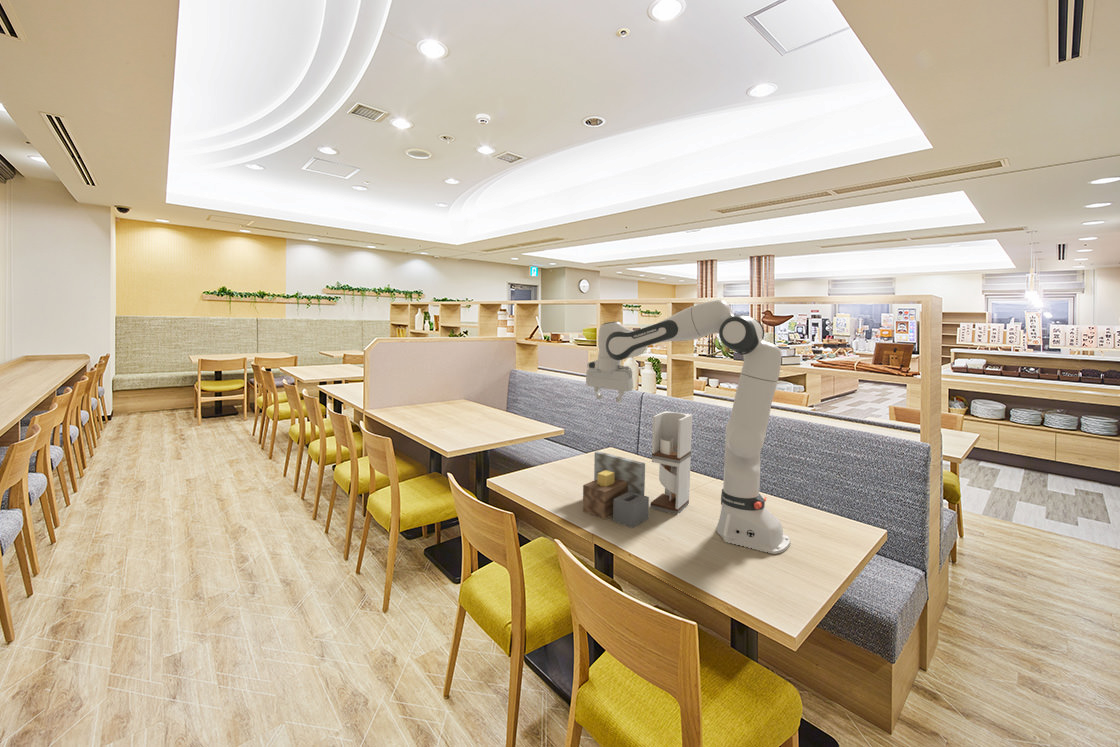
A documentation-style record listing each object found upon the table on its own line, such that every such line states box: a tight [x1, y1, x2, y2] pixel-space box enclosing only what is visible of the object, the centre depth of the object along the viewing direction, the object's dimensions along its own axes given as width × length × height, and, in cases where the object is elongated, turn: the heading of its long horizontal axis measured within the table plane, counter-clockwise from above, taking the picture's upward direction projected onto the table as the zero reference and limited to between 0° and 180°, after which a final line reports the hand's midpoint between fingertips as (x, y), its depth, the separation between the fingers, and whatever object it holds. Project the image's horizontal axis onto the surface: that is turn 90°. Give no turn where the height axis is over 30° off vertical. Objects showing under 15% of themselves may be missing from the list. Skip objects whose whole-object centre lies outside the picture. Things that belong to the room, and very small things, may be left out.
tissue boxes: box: [582, 450, 646, 520], centre depth 176 cm, size 22×16×18 cm
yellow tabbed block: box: [597, 470, 615, 486], centre depth 175 cm, size 4×5×8 cm
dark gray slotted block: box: [612, 491, 650, 529], centre depth 167 cm, size 8×10×8 cm
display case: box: [649, 410, 693, 515], centre depth 177 cm, size 11×11×35 cm
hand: (608, 400), depth 182 cm, fingers open, 8 cm apart
